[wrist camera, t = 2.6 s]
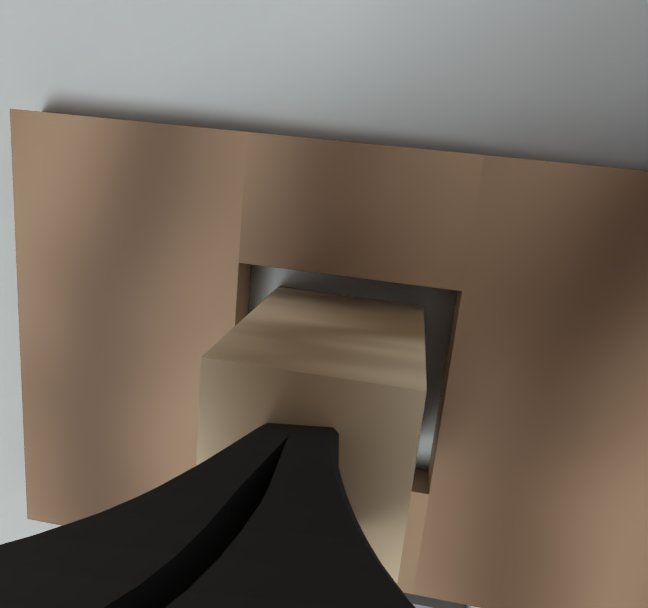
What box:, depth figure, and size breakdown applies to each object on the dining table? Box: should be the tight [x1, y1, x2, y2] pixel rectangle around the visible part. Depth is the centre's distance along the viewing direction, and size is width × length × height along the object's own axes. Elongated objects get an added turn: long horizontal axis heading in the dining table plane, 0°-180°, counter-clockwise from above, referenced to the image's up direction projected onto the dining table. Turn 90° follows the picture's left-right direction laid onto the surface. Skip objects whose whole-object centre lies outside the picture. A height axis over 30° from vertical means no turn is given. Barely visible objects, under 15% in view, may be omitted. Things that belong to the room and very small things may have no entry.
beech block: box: [196, 287, 427, 584], centre depth 13 cm, size 4×4×6 cm
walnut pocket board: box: [10, 109, 648, 608], centre depth 16 cm, size 18×12×1 cm, turn 85°
